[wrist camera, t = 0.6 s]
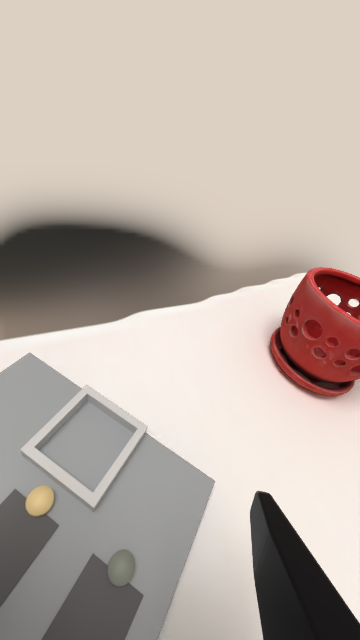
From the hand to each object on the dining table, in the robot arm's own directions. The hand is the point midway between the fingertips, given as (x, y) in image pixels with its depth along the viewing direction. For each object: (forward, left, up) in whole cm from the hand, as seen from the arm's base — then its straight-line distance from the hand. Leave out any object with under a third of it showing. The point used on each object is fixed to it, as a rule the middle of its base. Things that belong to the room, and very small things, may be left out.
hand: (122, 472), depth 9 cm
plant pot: (+29, -12, -14) cm, 34 cm away
